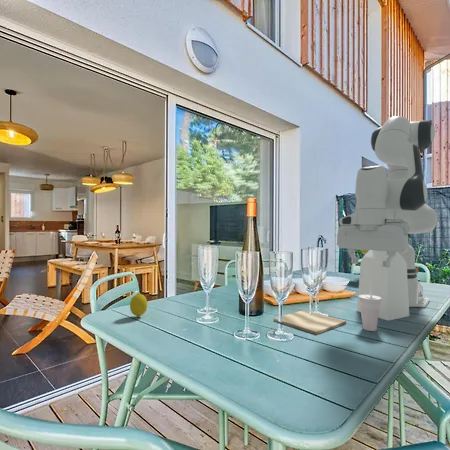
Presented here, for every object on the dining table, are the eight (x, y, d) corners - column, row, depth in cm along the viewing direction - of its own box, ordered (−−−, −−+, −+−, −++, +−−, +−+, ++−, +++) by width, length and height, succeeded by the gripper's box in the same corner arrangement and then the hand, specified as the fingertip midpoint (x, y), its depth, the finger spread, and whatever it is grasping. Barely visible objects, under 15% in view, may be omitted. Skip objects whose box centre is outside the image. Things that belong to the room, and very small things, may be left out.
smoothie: (368, 333, 89) (368, 285, 88) (353, 326, 95) (353, 281, 95) (386, 331, 90) (387, 284, 90) (370, 324, 96) (371, 280, 96)
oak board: (304, 312, 110) (304, 309, 110) (346, 323, 97) (346, 321, 97) (273, 320, 100) (273, 318, 100) (316, 334, 87) (316, 331, 87)
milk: (357, 311, 112) (357, 239, 112) (378, 307, 117) (378, 239, 117) (387, 320, 101) (388, 241, 101) (409, 316, 106) (410, 240, 106)
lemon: (142, 320, 99) (142, 295, 99) (126, 319, 100) (126, 294, 100) (150, 315, 104) (150, 291, 104) (135, 314, 105) (135, 290, 105)
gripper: (413, 219, 86) (412, 268, 86) (345, 219, 102) (344, 261, 102) (403, 218, 82) (403, 270, 82) (334, 219, 98) (333, 262, 98)
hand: (370, 265), depth 92 cm, fingers open, 8 cm apart
